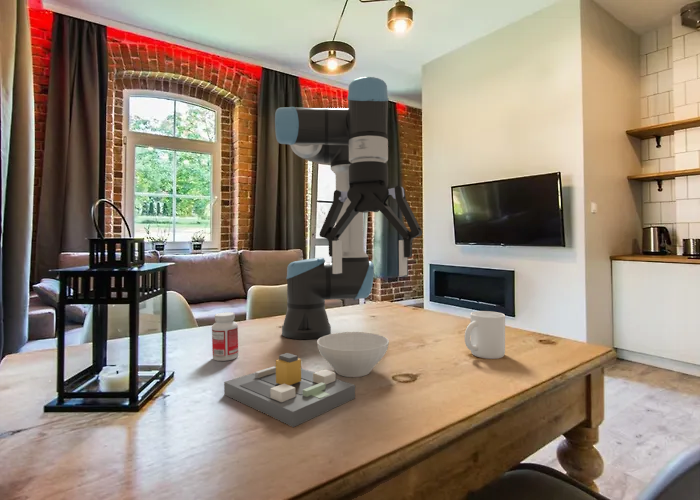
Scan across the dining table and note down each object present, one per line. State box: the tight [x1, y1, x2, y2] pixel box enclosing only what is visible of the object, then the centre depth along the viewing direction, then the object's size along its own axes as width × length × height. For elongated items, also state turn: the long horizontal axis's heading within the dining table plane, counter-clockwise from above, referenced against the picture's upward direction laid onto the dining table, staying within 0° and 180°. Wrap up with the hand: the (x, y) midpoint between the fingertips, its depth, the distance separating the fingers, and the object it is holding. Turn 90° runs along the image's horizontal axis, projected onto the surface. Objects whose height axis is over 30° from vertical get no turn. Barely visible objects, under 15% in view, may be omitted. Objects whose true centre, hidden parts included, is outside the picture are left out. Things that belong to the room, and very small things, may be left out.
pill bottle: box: [211, 311, 239, 362], centre depth 100 cm, size 6×6×11 cm
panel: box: [223, 365, 356, 428], centre depth 75 cm, size 20×15×4 cm
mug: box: [464, 310, 506, 360], centre depth 100 cm, size 12×8×10 cm
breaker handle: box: [275, 352, 302, 385], centre depth 75 cm, size 3×4×5 cm
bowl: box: [316, 331, 390, 378], centre depth 89 cm, size 16×16×7 cm
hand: (369, 274), depth 77 cm, fingers open, 13 cm apart
